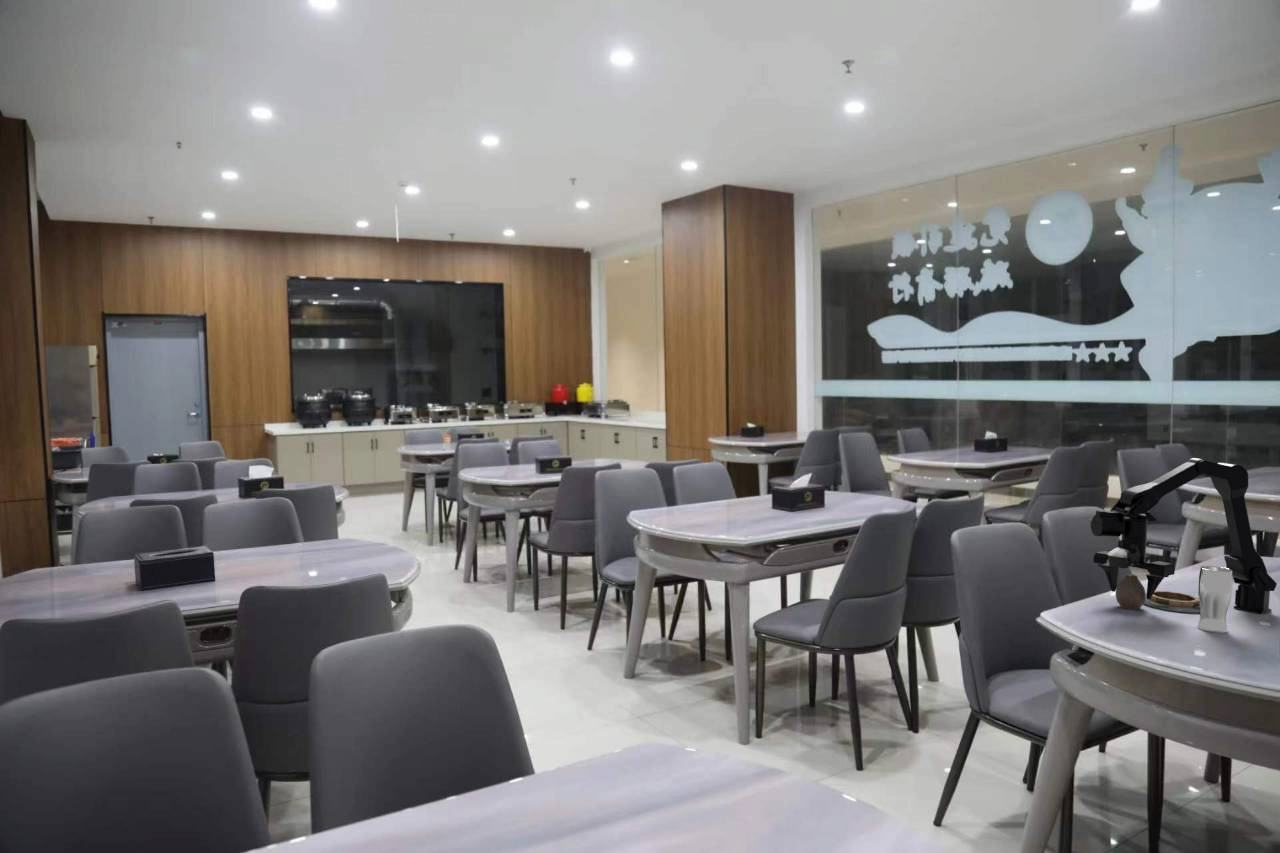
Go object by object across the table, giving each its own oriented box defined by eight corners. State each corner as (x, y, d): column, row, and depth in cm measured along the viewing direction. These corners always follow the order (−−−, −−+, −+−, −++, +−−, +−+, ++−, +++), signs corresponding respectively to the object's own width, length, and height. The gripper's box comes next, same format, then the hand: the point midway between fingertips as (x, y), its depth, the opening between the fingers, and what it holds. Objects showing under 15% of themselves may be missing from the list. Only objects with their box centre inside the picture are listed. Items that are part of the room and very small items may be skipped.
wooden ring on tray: (1223, 608, 228) (1224, 599, 228) (1190, 616, 219) (1191, 607, 219) (1157, 593, 243) (1158, 585, 242) (1124, 600, 234) (1124, 592, 234)
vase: (1115, 608, 226) (1117, 575, 225) (1114, 602, 232) (1116, 570, 231) (1145, 612, 222) (1147, 579, 222) (1144, 606, 228) (1146, 574, 228)
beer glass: (1219, 626, 211) (1223, 566, 210) (1235, 634, 204) (1239, 572, 203) (1189, 624, 212) (1193, 564, 211) (1205, 632, 205) (1208, 571, 204)
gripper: (1082, 533, 230) (1079, 590, 231) (1154, 546, 214) (1150, 607, 215) (1105, 530, 235) (1102, 586, 236) (1177, 542, 220) (1173, 602, 221)
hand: (1130, 595), depth 227 cm, fingers open, 9 cm apart
